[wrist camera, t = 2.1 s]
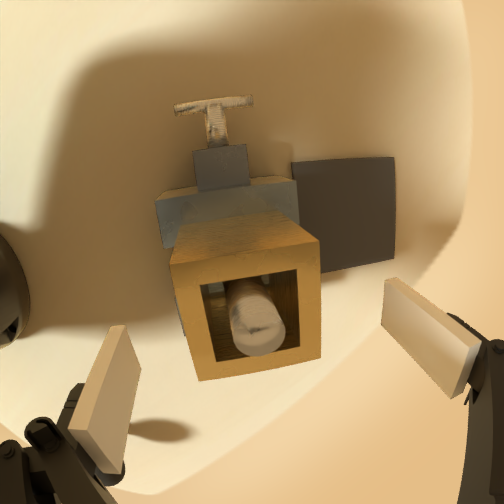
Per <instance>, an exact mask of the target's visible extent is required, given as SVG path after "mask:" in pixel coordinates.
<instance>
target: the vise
mask: <svg viewBox="0 0 504 504" xmlns="http://www.w3.org/2000/svg"><path fill="white" fill-rule="evenodd" d="M245 107H253V98H252V95H243V96H232V97H223V98H214V99H206V100H199V101H192V102H185V103H179V104H174V111H175V116H181V115H188V114H194V113H201V112H204V118H205V127H206V135H207V143H208V149H203V150H197V151H192V152H193V160H194V167H195V175H196V182H197V186H192V187H186V188H180V189H174V190H168V191H165V192H164V193H162V194H161V195H160V196H159V197H158V198H157V199H156V200H155V205H156V211H157V216H158V222H159V227H160V232H161V238H162V243H163V248H164V249H166V248H172V247H174V245H175V242H176V238H177V235H178V232H179V228H180V225H184V224H190V223H197V222H203V221H209V220H216V219H222V218H229V217H236V216H243V215H250V214H257V213H264V212H271V211H280V212H281V213H283V214H284V215H285V216H287V217H288V218H289V219H291V220H292V221H293V222H295V223H296V224H297V225H299V226H300V222H299V209H298V197H297V185H296V180H292V179H288V178H285V177H281V176H278V175H273V176H265V177H256V178H250V175H249V167H248V158H247V149H246V144H242V145H233V146H229V144H228V135H227V127H226V119H225V109H234V108H245ZM208 287H209V293H210V297H212V296H218V295H225V298H226V303H227V309H228V314H229V319H230V325H231V330H232V335H233V340H234V344H235V346H236V347H237V349H238V350H239V351H241V352H242V353H244V354H246V355H249V356H264V355H267V354H270V353H272V352H273V351H275V350H276V349H277V348H278V347H279V346H280V345H281V344H282V342H283V340H284V338H285V326H284V324H283V322H282V320H281V318H280V316H279V314H278V311H277V309H276V307H275V305H274V303H273V301H272V299H271V297H270V295H269V293H268V291H267V289H266V287H270V286H269V276H268V274H264V275H258V276H252V277H246V278H240V279H234V280H228V281H222V282H216V283H209V284H208ZM175 301H176V305H177V309H178V313H179V317H180V321H181V325H182V329H183V333H184V336H186V334H185V330H184V327H183V323H182V319H181V315H180V311H179V307H178V303H177V298H176V294H175Z"/></svg>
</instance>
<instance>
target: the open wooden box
mask: <svg viewBox="0 0 504 504" xmlns="http://www.w3.org/2000/svg"><path fill="white" fill-rule="evenodd" d="M169 268H170V272H171V277H172V281H173V286H174V290H175V294H176V298H177V303H178V307H179V311H180V315H181V319H182V323H183V327H184V330H185V334H186V338H187V342H188V345H189V349H190V353H191V356H192V360H193V363H194V367H195V370H196V373H197V377H198V380H199V381H206V380H213V379H219V378H226V377H232V376H238V375H244V374H249V373H255V372H260V371H265V370H270V369H275V368H280V367H285V366H289V365H294V364H298V363H302V362H307V361H311V360H315V359H319V358H321V274H320V245H319V240H317V239H316V238H315V237H313V236H312V235H311V234H309V233H308V232H307V231H305V230H304V229H303V228H301V227H300V226H299V225H297V224H296V223H295V222H293V221H292V220H291V219H289V218H288V217H287V216H285V215H284V214H283V213H281V212H280V211H271V212H264V213H257V214H250V215H243V216H236V217H229V218H222V219H216V220H209V221H203V222H197V223H190V224H184V225H180V228H179V232H178V235H177V238H176V242H175V245H174V249H173V252H172V255H171V259H170V263H169ZM264 274H268V276H269V286H270V287H266V289H267V291H268V293H269V295H270V297H271V299H272V301H273V303H274V305H275V307H276V309H277V311H278V314H279V316H280V318H281V320H282V322H283V324H284V326H285V338H284V340H283V342H282V344H281V345H280V346H279V347H278V348H277V349H276V350H275V351H273V352H272V353H270V354H267V355H264V356H249V355H246V354H244V353H242V352H241V351H239V350H238V349H237V347H236V346H235V344H234V340H233V335H232V330H231V325H230V319H229V314H228V309H227V303H226V298H225V295H218V296H212V297H210V293H209V287H208V284H209V283H216V282H222V281H228V280H234V279H240V278H246V277H252V276H258V275H264Z"/></svg>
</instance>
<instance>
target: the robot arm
mask: <svg viewBox="0 0 504 504" xmlns="http://www.w3.org/2000/svg"><path fill="white" fill-rule="evenodd" d="M29 311H30V300H29V292H28V286H27V282H26V279H25V276H24V273H23V270H22V268H21V265H20V263H19V261H18V259H17V257H16V255H15V254H14V252H13V250H12V249H11V247H10V246H9V244H8V243H7V242H6V240H5V239H4V238H3V237H2V236H1V235H0V349H2V348H4V347H6V346H8V345H10V344H11V343H12V342H13V341H15V339H16V338H17V337H18V336H19V335H20V333H21V332H22V331H23V329H24V328H25V326H26V324H27V321H28V317H29ZM381 325H382V326H383V327H384V328H385V330H387V332H388V333H389V334H390V335H391V336H392V337H393V338H394V339H395V340H396V341H397V342H398V343H399V344H400V345H401V346H402V347H403V348H404V349H405V350H406V351H407V353H408V354H409V355H410V356H411V357H412V358H413V359H414V360H415V361H416V362H417V363H418V364H419V365H420V366H421V368H422V369H423V370H424V371H425V372H426V373H427V374H428V375H429V376H430V377H431V378H432V380H433V381H434V382H435V383H436V384H437V385H438V386H439V387H440V388H441V389H442V391H443V392H444V393H445V394H446V395H447V396H448V397H449V398H450V399H452V398H454V397H456V396H458V395H459V394H461V393H463V391H464V388H465V386H466V384H467V382H468V383H469V384H470V385H471V388H470V391H469V393H468V395H467V397H466V400H465V403H464V405H466V404H467V402H468V400H469V416H468V433H467V445H466V453H465V462H464V468H463V475H462V481H461V487H460V492H459V497H458V501H457V504H504V341H503V340H499V339H494V340H491V341H489V340H487V339H486V338H485V337H483V336H482V335H481V334H480V333H479V332H477V331H476V330H475V329H473V328H472V327H470V326H469V325H468V324H467V323H464V321H463V320H461V319H460V318H459V317H457V316H455V315H453V314H450V313H445V312H443V311H442V310H441V309H439V308H438V307H437V306H435V305H434V304H433V303H431V302H430V301H429V300H427V299H426V298H425V297H423V296H422V295H420V294H419V293H418V292H416V291H415V290H414V289H412V288H411V287H409V286H408V285H407V284H405V283H404V282H402V281H401V280H400V279H398V278H397V277H396V278H392V279H388V280H385V285H384V298H383V309H382V319H381ZM140 373H141V367H140V364H139V362H138V359H137V357H136V354H135V351H134V349H133V346H132V343H131V340H130V338H129V335H128V332H127V329H126V326H125V325H118V326H111V327H110V329H109V331H108V333H107V336H106V338H105V340H104V342H103V344H102V346H101V349H100V351H99V353H98V355H97V357H96V360H95V362H94V364H93V367H92V369H91V371H90V373H89V376H88V378H87V381H86V383H78V384H77V385H76V386H75V387H74V388H73V389H72V390H71V391H70V393H69V395H68V398H67V402H65V405H64V409H62V412H61V414H60V417H59V419H58V422H57V424H56V425H55V423H54V422H53V421H52V420H51V419H50V418H48V417H38V418H35V419H34V420H32V421H31V422H29V424H28V425H27V426H26V428H25V431H24V435H25V438H26V439H27V440H28V442H29V443H30V444H31V445H32V447H26V448H22V447H21V446H20V444H19V443H18V442H17V441H15V440H6V441H4V442H2V444H0V504H61V503H62V504H118V503H117V502H116V501H115V499H114V498H113V497H112V495H111V494H110V493H109V492H108V490H107V489H106V487H105V486H104V485H103V483H102V482H101V480H100V479H99V477H98V476H97V475H96V474H95V469H96V465H97V467H98V468H99V469H100V470H101V471H102V472H103V473H110V474H121V470H122V464H123V458H124V452H125V446H126V440H127V435H128V429H129V424H130V419H131V414H132V409H133V404H134V399H135V395H136V390H137V386H138V381H139V377H140Z"/></svg>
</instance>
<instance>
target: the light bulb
mask: <svg viewBox="0 0 504 504" xmlns="http://www.w3.org/2000/svg"><path fill="white" fill-rule="evenodd" d="M95 474H96V475H97V476H98V477H99V479H100V480H101V482H102V483H103V485H104V486H114V485H116V484H118V483H119V482H120V481H121V480H122V479H123V477H124V475H125V464H124V461H123V464H122V470H121V474H110V473H103V472H102V471H101V470H100V469H99V468H98V467H97V465H96V469H95Z"/></svg>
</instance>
